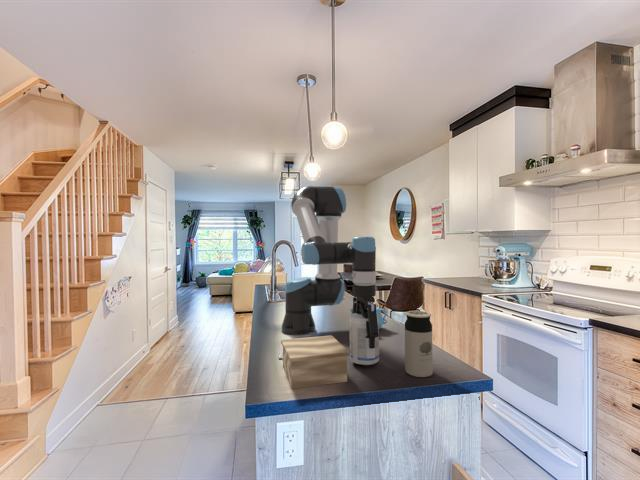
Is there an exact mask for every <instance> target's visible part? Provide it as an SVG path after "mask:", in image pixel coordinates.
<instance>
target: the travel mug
mask: <svg viewBox="0 0 640 480" xmlns="http://www.w3.org/2000/svg"><path fill="white" fill-rule="evenodd" d="M405 315H406V321H405V323H404V370H405V372H406V374H408V375H410V376H411V377H415V378H427V377H428V378H429V377H430V376H432V375H433V373H434V372H433V371H434V370H433V364H434V363H433V359H434V358H433V324H432V322H431V317H432V313H430V312H428V311H424V310H408V311H406V312H405Z"/></svg>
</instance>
